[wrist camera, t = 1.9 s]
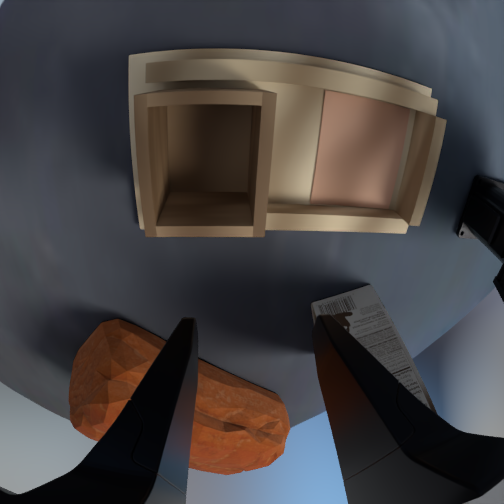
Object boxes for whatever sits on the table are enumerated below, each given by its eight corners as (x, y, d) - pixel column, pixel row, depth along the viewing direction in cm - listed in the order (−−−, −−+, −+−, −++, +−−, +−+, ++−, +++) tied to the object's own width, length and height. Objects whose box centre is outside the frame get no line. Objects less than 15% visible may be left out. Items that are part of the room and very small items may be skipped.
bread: (220, 425, 41) (223, 481, 33) (69, 359, 29) (48, 429, 21) (295, 393, 36) (308, 461, 27) (118, 300, 24) (88, 402, 15)
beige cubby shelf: (427, 87, 15) (452, 93, 13) (395, 229, 22) (412, 248, 19) (132, 55, 13) (114, 52, 11) (142, 225, 20) (131, 247, 17)
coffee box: (370, 338, 30) (418, 462, 17) (317, 354, 31) (352, 486, 17) (372, 281, 25) (449, 437, 12) (307, 301, 25) (357, 475, 12)
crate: (262, 89, 15) (277, 93, 10) (255, 197, 19) (264, 237, 14) (159, 90, 14) (133, 95, 10) (163, 197, 18) (145, 237, 14)
